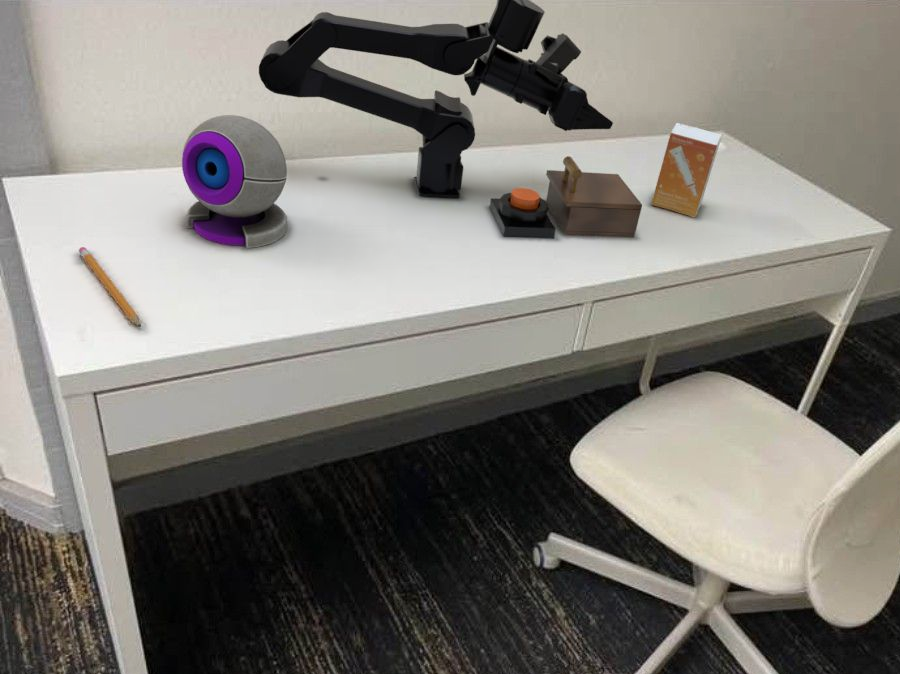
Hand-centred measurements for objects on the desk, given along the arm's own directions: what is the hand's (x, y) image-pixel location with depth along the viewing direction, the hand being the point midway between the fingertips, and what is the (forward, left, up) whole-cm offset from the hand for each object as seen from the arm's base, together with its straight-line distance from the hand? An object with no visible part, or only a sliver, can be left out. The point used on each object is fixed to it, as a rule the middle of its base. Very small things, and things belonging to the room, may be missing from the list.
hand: (604, 119), depth 133 cm
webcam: (-55, -11, -15) cm, 58 cm away
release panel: (-13, -7, -15) cm, 21 cm away
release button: (-13, -7, -11) cm, 19 cm away
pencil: (-69, -29, -15) cm, 76 cm away
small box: (+17, +2, -15) cm, 23 cm away
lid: (-2, -5, -10) cm, 11 cm away
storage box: (-1, -5, -15) cm, 16 cm away
